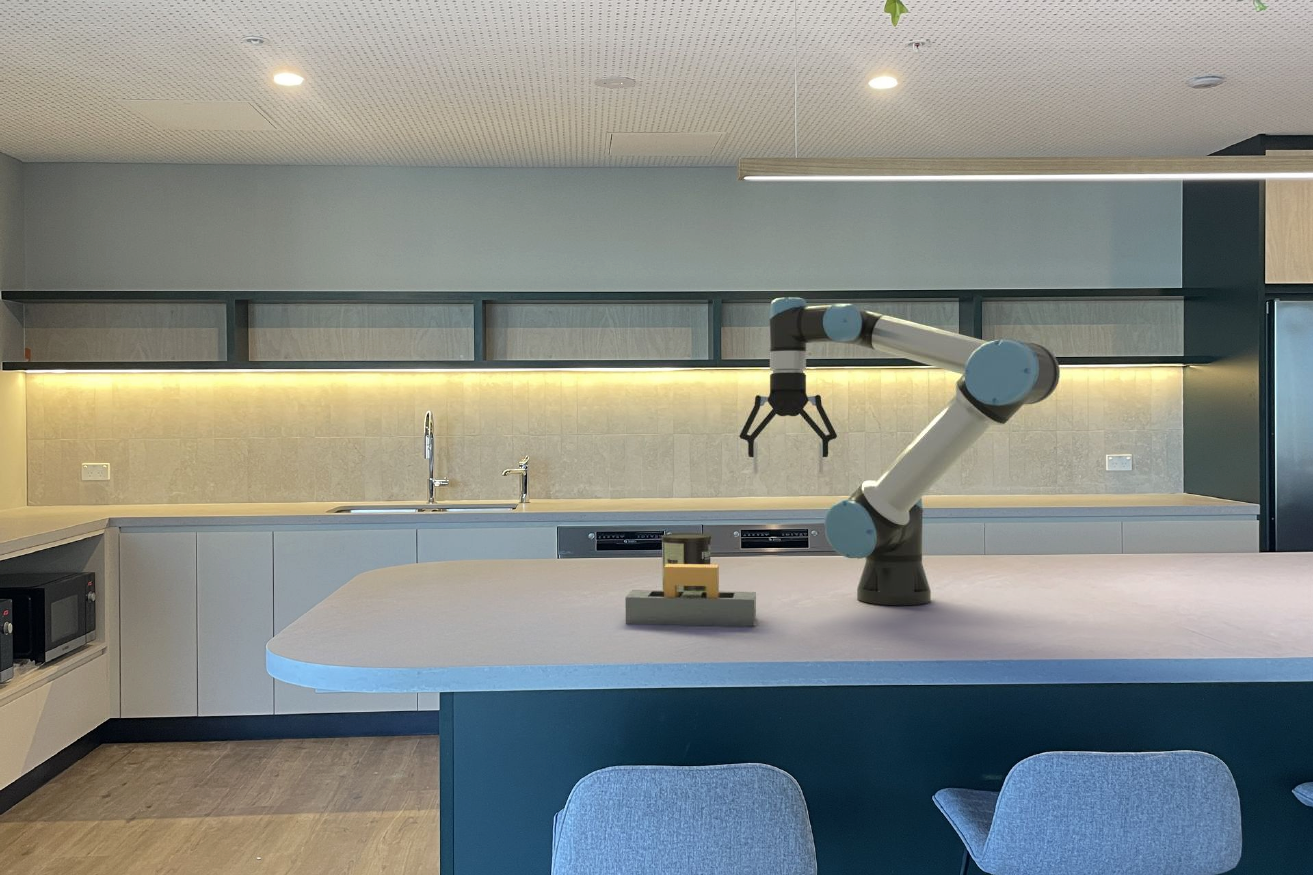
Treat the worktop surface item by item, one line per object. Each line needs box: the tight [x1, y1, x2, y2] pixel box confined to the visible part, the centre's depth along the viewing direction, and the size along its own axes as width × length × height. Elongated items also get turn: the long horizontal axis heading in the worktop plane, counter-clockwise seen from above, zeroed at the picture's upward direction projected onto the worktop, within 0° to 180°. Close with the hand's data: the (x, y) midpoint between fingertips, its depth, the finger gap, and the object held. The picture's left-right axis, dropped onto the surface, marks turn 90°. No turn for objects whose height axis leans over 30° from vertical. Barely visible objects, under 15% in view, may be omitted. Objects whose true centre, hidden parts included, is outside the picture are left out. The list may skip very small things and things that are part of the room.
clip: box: [664, 563, 720, 598], centre depth 203 cm, size 10×4×10 cm, turn 83°
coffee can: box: [661, 532, 712, 591], centre depth 223 cm, size 10×10×14 cm
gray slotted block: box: [624, 589, 757, 628], centre depth 203 cm, size 24×8×5 cm, turn 83°
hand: (788, 473), depth 225 cm, fingers open, 13 cm apart
